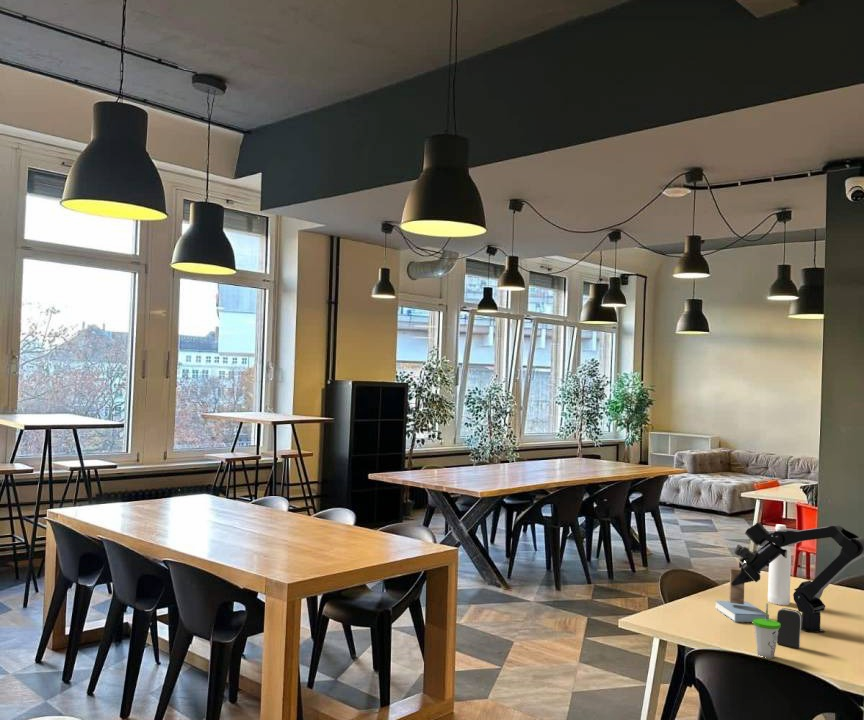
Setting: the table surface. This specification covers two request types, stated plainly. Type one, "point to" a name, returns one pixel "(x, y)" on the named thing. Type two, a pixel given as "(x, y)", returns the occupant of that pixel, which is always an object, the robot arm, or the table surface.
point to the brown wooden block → (736, 587)
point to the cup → (766, 635)
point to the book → (740, 611)
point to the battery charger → (789, 627)
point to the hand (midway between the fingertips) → (731, 583)
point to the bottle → (780, 577)
